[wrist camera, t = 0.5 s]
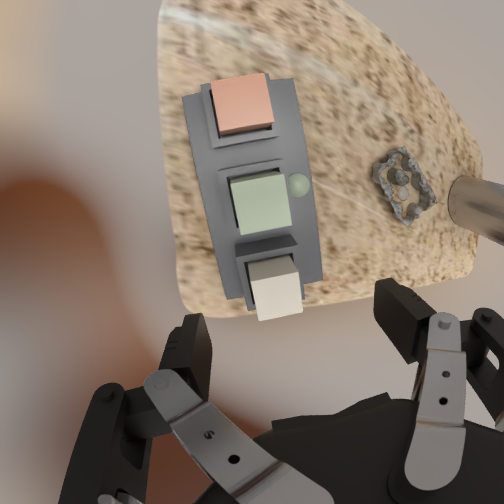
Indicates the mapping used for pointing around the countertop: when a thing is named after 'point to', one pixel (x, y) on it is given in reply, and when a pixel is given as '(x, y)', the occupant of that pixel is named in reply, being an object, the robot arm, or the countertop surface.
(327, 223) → the countertop surface
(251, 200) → the sage key
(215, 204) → the key panel
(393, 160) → the grey ruined fortress
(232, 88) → the terracotta key
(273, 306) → the cream key
